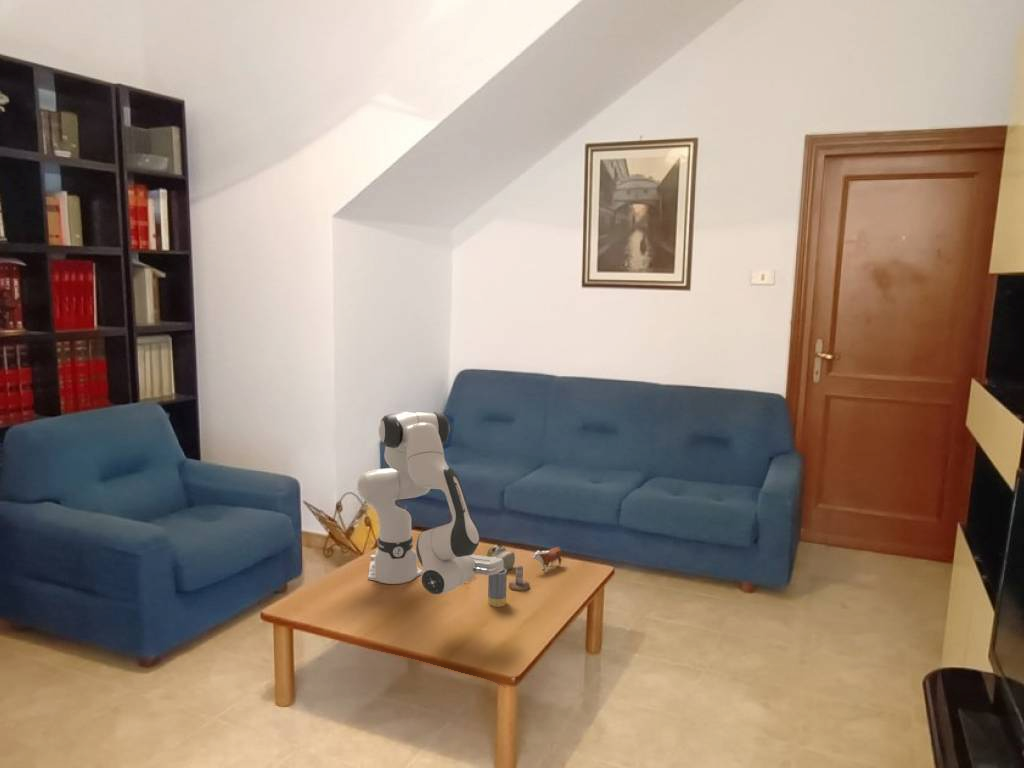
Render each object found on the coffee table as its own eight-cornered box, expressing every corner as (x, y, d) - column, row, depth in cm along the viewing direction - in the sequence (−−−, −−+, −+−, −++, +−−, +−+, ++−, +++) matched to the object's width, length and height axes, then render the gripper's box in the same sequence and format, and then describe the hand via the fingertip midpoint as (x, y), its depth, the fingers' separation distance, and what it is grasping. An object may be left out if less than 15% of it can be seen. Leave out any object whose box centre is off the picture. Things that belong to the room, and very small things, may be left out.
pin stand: (506, 583, 265) (506, 562, 264) (525, 581, 267) (525, 560, 266) (512, 591, 259) (513, 570, 257) (532, 589, 261) (532, 568, 260)
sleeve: (485, 600, 252) (486, 568, 250) (503, 598, 254) (503, 566, 252) (490, 607, 246) (491, 574, 245) (508, 605, 248) (509, 572, 247)
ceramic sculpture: (503, 551, 271) (473, 543, 281) (503, 575, 272) (473, 566, 282) (523, 544, 279) (493, 536, 289) (523, 567, 280) (493, 559, 290)
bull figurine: (530, 572, 276) (530, 550, 275) (556, 563, 285) (557, 542, 284) (538, 576, 273) (539, 554, 271) (565, 566, 282) (565, 545, 280)
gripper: (492, 561, 220) (512, 550, 233) (430, 553, 229) (453, 542, 241) (492, 583, 220) (512, 570, 233) (430, 574, 229) (453, 562, 241)
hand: (481, 556), depth 237 cm, fingers open, 8 cm apart
